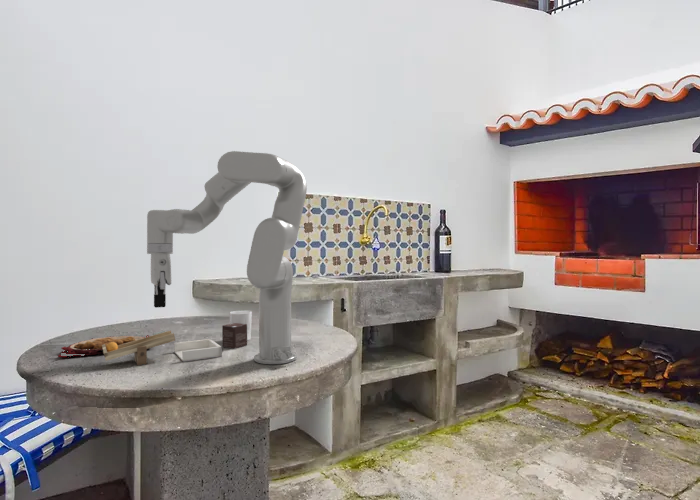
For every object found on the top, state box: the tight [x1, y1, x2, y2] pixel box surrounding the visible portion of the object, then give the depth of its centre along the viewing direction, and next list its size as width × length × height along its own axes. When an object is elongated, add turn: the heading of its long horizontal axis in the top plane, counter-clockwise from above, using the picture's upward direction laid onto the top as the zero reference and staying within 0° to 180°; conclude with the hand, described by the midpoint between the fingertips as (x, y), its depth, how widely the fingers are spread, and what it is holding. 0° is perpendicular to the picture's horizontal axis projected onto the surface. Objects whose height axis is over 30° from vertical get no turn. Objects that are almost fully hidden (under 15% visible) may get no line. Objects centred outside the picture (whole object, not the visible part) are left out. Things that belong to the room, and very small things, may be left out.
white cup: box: [229, 310, 253, 341], centre depth 166 cm, size 8×8×10 cm
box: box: [221, 323, 248, 350], centre depth 156 cm, size 6×6×7 cm
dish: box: [173, 338, 223, 363], centre depth 144 cm, size 14×12×3 cm
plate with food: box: [57, 334, 150, 358], centre depth 155 cm, size 25×26×4 cm
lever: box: [102, 330, 177, 362], centre depth 139 cm, size 13×19×4 cm, turn 121°
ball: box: [106, 342, 118, 352], centre depth 132 cm, size 3×3×3 cm
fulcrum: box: [133, 346, 148, 366], centre depth 136 cm, size 8×2×5 cm, turn 31°
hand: (159, 306), depth 145 cm, fingers closed
